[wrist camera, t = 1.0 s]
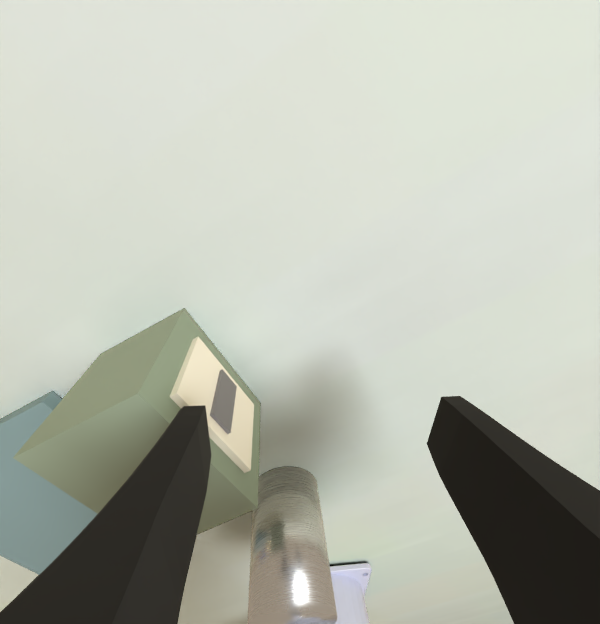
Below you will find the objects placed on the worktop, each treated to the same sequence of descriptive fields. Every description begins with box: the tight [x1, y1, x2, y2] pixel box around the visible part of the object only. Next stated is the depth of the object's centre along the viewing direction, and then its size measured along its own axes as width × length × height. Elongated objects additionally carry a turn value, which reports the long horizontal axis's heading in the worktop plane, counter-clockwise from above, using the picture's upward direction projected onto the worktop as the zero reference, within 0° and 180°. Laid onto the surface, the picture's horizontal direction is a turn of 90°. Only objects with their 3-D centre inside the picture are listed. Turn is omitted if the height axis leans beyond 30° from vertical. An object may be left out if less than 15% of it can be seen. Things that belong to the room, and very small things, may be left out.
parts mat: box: [0, 391, 97, 574], centre depth 19 cm, size 12×12×1 cm
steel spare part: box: [248, 467, 337, 624], centre depth 18 cm, size 4×4×7 cm
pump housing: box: [13, 308, 261, 534], centre depth 14 cm, size 5×7×6 cm
